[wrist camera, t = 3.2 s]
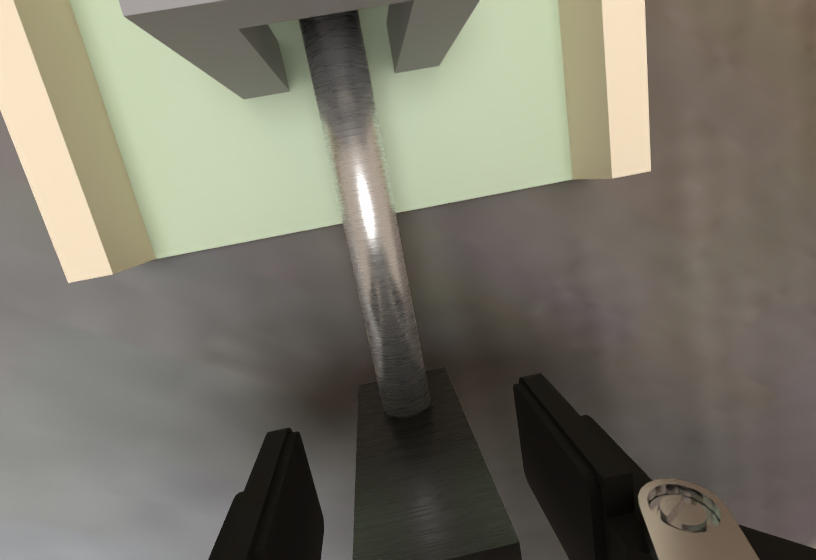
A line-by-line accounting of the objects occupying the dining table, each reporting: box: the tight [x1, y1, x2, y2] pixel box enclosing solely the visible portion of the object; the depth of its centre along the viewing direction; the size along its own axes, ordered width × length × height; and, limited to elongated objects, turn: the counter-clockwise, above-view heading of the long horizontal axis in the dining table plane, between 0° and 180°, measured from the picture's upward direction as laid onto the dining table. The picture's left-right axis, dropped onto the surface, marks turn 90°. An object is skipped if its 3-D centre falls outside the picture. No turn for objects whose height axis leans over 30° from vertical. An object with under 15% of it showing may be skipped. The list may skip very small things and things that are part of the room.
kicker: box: [298, 10, 522, 560], centre depth 8 cm, size 14×5×6 cm, turn 10°
